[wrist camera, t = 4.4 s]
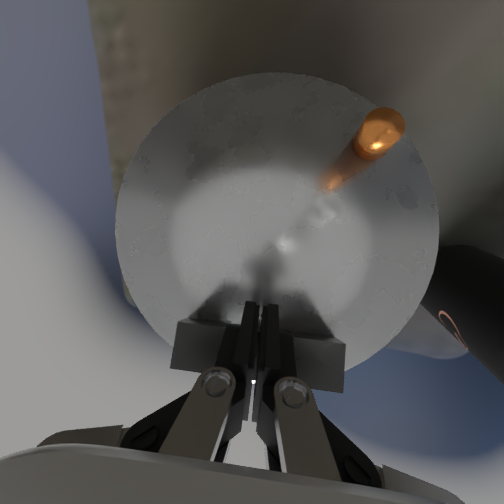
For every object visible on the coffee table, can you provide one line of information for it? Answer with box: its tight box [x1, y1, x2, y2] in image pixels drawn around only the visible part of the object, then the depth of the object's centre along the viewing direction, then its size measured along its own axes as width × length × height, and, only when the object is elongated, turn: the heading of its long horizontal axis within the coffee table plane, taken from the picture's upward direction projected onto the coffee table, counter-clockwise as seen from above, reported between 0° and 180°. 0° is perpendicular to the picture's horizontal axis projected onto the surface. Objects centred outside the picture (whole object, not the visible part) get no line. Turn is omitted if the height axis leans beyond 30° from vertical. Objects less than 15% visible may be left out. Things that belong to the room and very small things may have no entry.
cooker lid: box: [115, 72, 439, 393], centre depth 15 cm, size 21×21×3 cm
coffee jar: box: [420, 246, 504, 384], centre depth 27 cm, size 11×11×18 cm
